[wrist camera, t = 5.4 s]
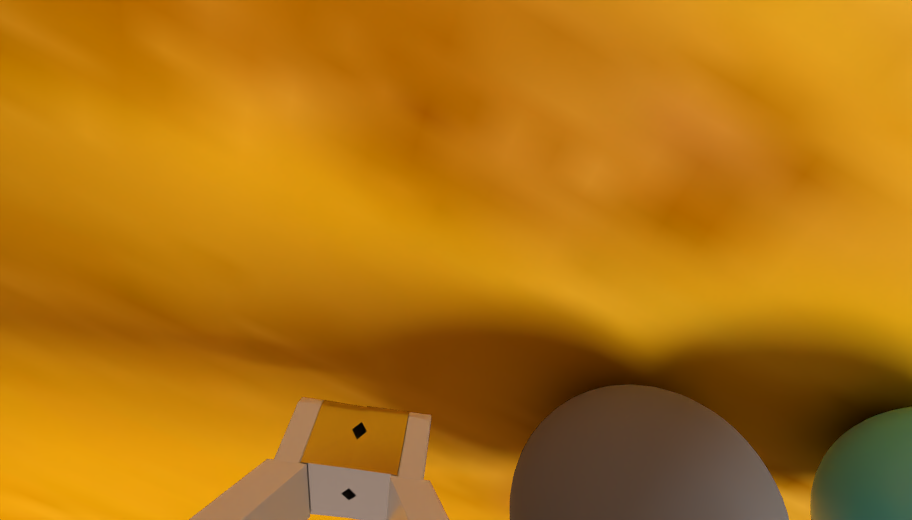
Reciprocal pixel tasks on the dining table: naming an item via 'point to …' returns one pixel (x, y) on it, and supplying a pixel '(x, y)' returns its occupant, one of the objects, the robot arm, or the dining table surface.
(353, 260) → the dining table surface
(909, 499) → the teal ball
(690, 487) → the gray ball
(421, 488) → the robot arm
